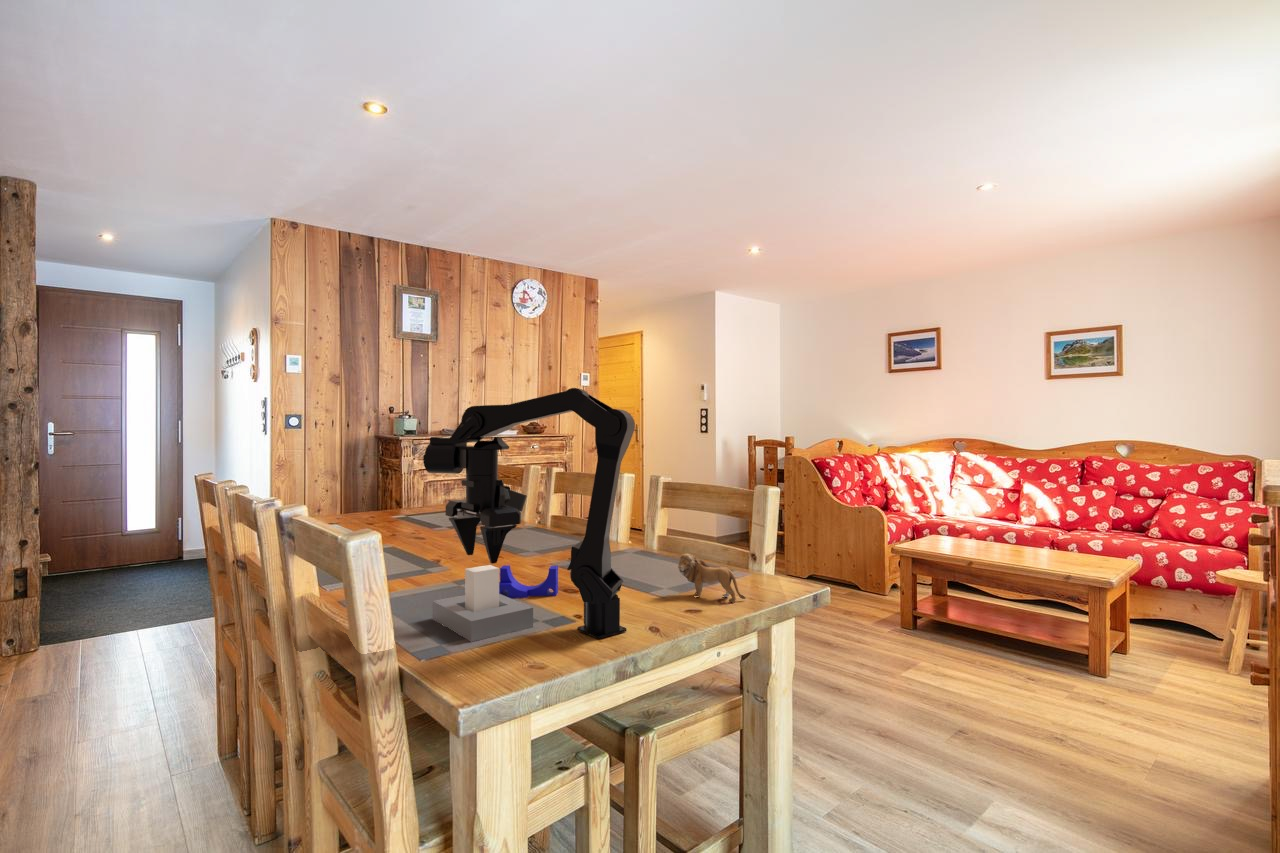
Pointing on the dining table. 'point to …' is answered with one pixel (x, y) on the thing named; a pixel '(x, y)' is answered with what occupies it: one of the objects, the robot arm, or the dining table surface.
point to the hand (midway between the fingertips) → (481, 559)
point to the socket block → (482, 617)
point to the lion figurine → (707, 575)
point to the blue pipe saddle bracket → (518, 590)
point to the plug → (481, 588)
